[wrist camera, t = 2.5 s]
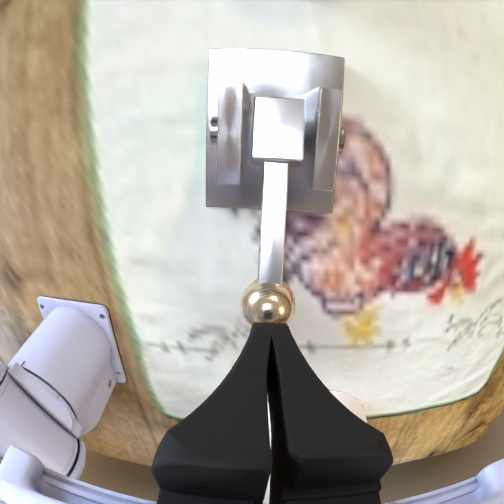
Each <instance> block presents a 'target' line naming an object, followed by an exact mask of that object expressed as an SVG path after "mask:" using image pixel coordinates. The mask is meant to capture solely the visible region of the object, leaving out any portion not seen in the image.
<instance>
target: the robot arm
mask: <svg viewBox="0 0 504 504" xmlns="http://www.w3.org/2000/svg"><path fill="white" fill-rule="evenodd" d="M37 302H38V305H39V308H40V311H41V314H42V317H43V320H44V321H43V322H42V323H41V324H40V325H39V326H38V328H37V329H36V330H35V331H34V332H33V334H32V335H31V336H30V337H29V339H28V340H27V341H26V342H25V343H24V345H23V346H22V347H21V348H20V350H19V351H18V352H17V353H16V355H15V356H14V357H13V359H12V360H11V361H10V362H9V364H8V365H7V366H5V365H4V364H3V363H2V362H0V458H1V459H2V462H1V461H0V504H262V502H263V500H264V497H265V493H266V489H267V485H268V481H269V476H270V494H269V504H381V503H380V497H379V491H380V490H381V484H380V479H381V478H382V476H383V475H384V474H385V473H386V472H387V471H388V469H389V468H390V467H391V465H392V463H393V456H392V453H391V449H390V447H389V444H388V442H387V440H386V438H385V436H384V434H383V433H382V432H380V431H379V430H377V429H375V428H374V427H372V426H371V425H369V424H367V423H366V422H364V421H363V420H362V419H360V418H359V417H358V416H356V415H355V414H354V413H352V412H351V411H350V410H349V409H348V408H347V407H346V406H344V405H343V404H342V403H341V402H340V401H339V400H338V399H337V398H336V397H335V396H334V395H333V394H332V393H331V392H330V391H329V390H328V389H327V388H326V386H325V385H324V384H323V383H322V382H321V380H320V379H319V378H318V377H317V375H316V374H315V373H314V371H313V370H312V368H311V367H310V366H309V364H308V363H307V361H306V359H305V358H304V356H303V355H302V353H301V351H300V350H299V348H298V346H297V344H296V342H295V340H294V338H293V336H292V334H291V332H290V329H289V327H288V325H287V324H286V323H262V322H255V323H253V324H252V328H251V332H250V335H249V337H248V340H247V342H246V344H245V346H244V348H243V350H242V352H241V354H240V356H239V358H238V359H237V361H236V362H235V364H234V366H233V367H232V369H231V370H230V372H229V373H228V374H227V376H226V377H225V379H224V380H223V381H222V382H221V384H220V385H219V386H218V387H217V388H216V389H215V391H214V392H213V393H212V394H211V395H210V396H209V397H208V398H207V399H206V400H205V401H204V402H203V403H202V404H201V405H200V406H199V407H198V408H196V409H195V410H194V411H193V412H192V413H191V414H190V415H188V416H187V417H186V418H185V419H183V420H182V421H180V422H179V423H178V424H176V425H175V426H173V427H172V428H170V429H169V430H168V431H167V432H166V434H165V435H164V437H163V439H162V440H161V442H160V444H159V446H158V449H157V451H156V454H155V457H154V460H153V464H152V468H151V470H152V474H153V476H154V478H155V480H156V482H157V484H158V486H159V487H160V492H159V496H158V501H157V502H153V501H149V500H144V499H140V498H136V497H132V496H128V495H124V494H120V493H117V492H113V491H109V490H106V489H103V488H100V487H97V486H94V485H90V484H88V483H85V482H82V481H79V480H78V479H79V477H80V476H81V474H82V471H83V469H84V466H85V461H86V448H85V444H84V442H83V441H82V439H81V438H79V436H83V435H85V434H87V433H89V432H90V431H91V430H93V429H94V428H95V427H96V425H97V424H98V422H99V421H100V418H101V416H102V414H103V411H104V409H105V407H106V405H107V402H108V400H109V398H110V396H111V394H112V391H113V389H114V387H115V385H116V383H117V382H119V383H125V382H126V376H125V373H124V370H123V366H122V363H121V360H120V356H119V353H118V349H117V345H116V342H115V338H114V334H113V330H112V326H111V322H110V318H109V314H108V310H107V308H106V307H105V306H103V305H98V304H91V303H83V302H76V301H69V300H63V299H56V298H50V297H44V296H40V297H39V298H38V299H37ZM103 315H104V316H105V317H104V316H103ZM267 393H268V399H267ZM268 404H269V414H270V424H271V448H270V435H269V420H268ZM383 504H504V459H501V460H499V461H497V462H494V463H492V464H490V465H489V466H487V467H485V468H484V469H483V470H482V471H480V472H479V474H478V475H477V476H476V477H473V478H470V479H468V480H465V481H463V482H459V483H457V484H454V485H451V486H448V487H445V488H442V489H438V490H435V491H432V492H429V493H425V494H421V495H417V496H414V497H410V498H405V499H401V500H397V501H393V502H387V503H383Z"/></svg>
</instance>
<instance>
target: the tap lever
mask: <svg viewBox="0 0 504 504" xmlns="http://www.w3.org/2000/svg"><path fill="white" fill-rule="evenodd" d="M304 136H305V100H304V99H294V98H281V97H265V96H255V97H254V110H253V129H252V148H251V159H252V163H253V164H259V165H264V166H263V187H262V207H261V226H260V246H259V264H258V279H257V280H255V281H253V282H252V283H250V284H249V285H248V286H247V288H246V289H245V290H244V292H243V295H242V298H241V311H242V314H243V316H244V318H245V320H246V321H247V322H248V323H249V324H250V325H251V326H252V324H253V323H255V322H262V323H286V324H287V323H288V322H289V321H290V320H291V318H292V316H293V314H294V311H295V298H294V294H293V292H292V290H291V289H290V287H289V286H288V285H287V284H286V283H285V282H283V281H282V276H283V261H284V246H285V230H286V213H287V194H288V174H289V166H292V167H296V166H298V165H299V164H300V163H301V162H302V161H303V160H304Z"/></svg>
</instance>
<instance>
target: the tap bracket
mask: <svg viewBox="0 0 504 504" xmlns="http://www.w3.org/2000/svg"><path fill="white" fill-rule="evenodd" d="M343 83H344V58H343V57H337V56H330V55H323V54H315V53H306V52H296V51H283V50H268V49H210V51H209V71H208V95H207V129H206V207H227V208H249V209H261V207H262V187H263V166H264V165H259V164H253V163H252V159H251V148H252V129H253V110H254V97H255V96H265V97H281V98H294V99H304V100H305V136H304V160H303V161H302V162H301V163H300V164H299V165H298V166H296V167H292V166H289V174H288V194H287V211H302V212H317V213H332V209H333V201H334V192H335V184H336V174H337V164H338V154H339V153H341V152H342V150H343V147H344V141H345V130H344V126H343V125H342V124H341V117H342V101H343Z"/></svg>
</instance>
